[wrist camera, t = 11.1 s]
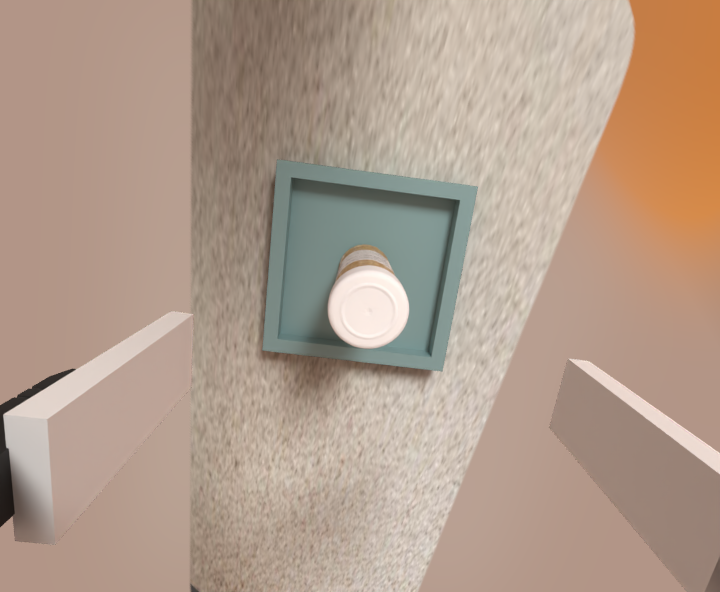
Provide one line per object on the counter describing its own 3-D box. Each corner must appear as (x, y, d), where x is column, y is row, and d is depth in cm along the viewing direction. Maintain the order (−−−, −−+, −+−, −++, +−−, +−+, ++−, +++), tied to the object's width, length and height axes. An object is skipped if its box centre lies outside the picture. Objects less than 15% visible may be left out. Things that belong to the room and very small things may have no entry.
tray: (282, 162, 34) (277, 159, 31) (469, 187, 34) (477, 186, 32) (268, 340, 37) (262, 350, 35) (436, 360, 38) (442, 371, 35)
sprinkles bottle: (379, 301, 35) (392, 362, 22) (330, 284, 35) (315, 336, 22) (397, 253, 34) (423, 287, 21) (348, 235, 34) (342, 258, 21)
